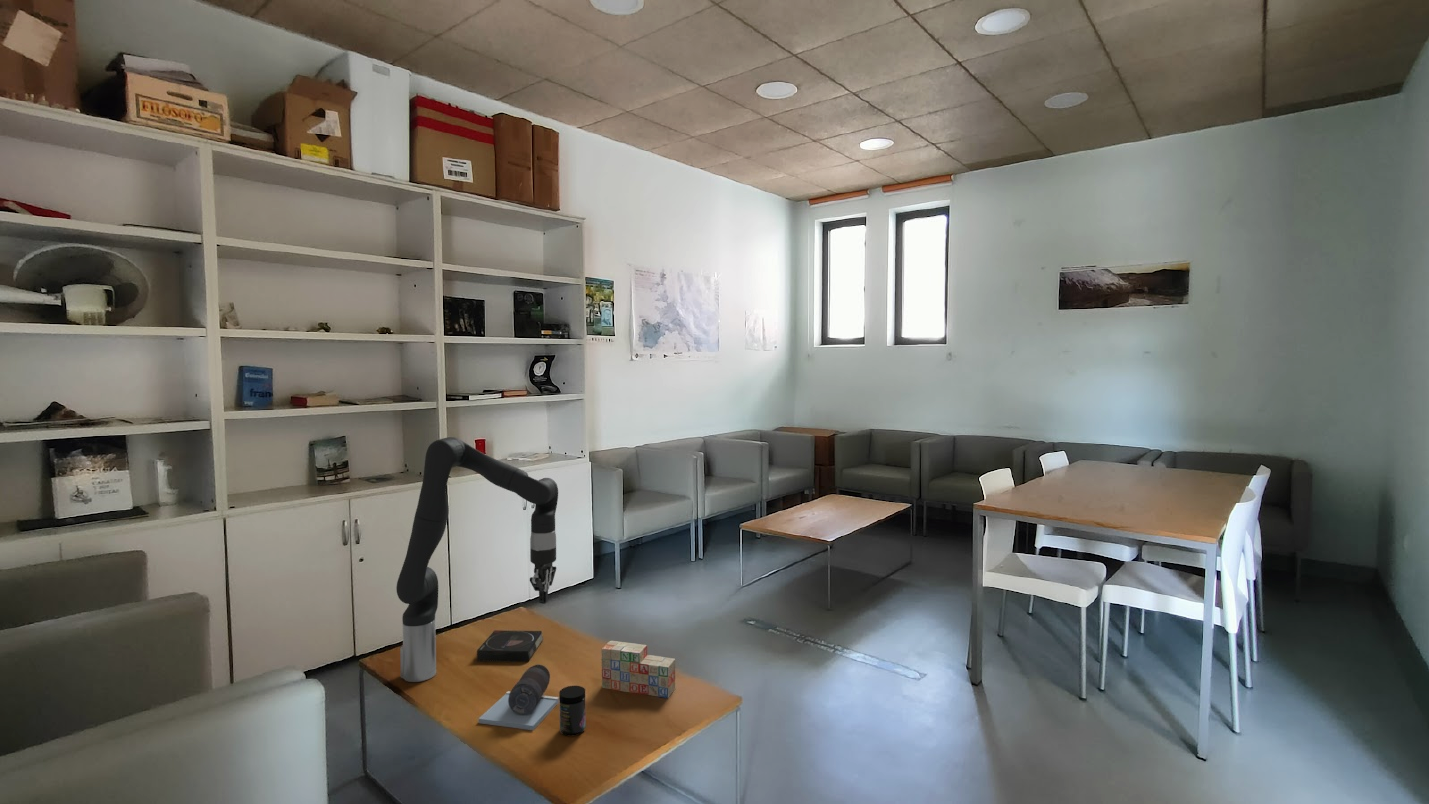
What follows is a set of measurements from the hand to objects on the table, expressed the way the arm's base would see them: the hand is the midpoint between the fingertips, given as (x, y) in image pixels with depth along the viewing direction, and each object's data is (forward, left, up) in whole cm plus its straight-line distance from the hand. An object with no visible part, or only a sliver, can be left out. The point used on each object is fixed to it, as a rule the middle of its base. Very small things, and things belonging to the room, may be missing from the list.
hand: (543, 602), depth 201 cm
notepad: (+1, -17, -25) cm, 30 cm away
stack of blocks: (+29, +4, -25) cm, 38 cm away
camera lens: (+1, -6, -20) cm, 20 cm away
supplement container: (+19, -22, -25) cm, 39 cm away
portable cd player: (-22, +19, -26) cm, 38 cm away
